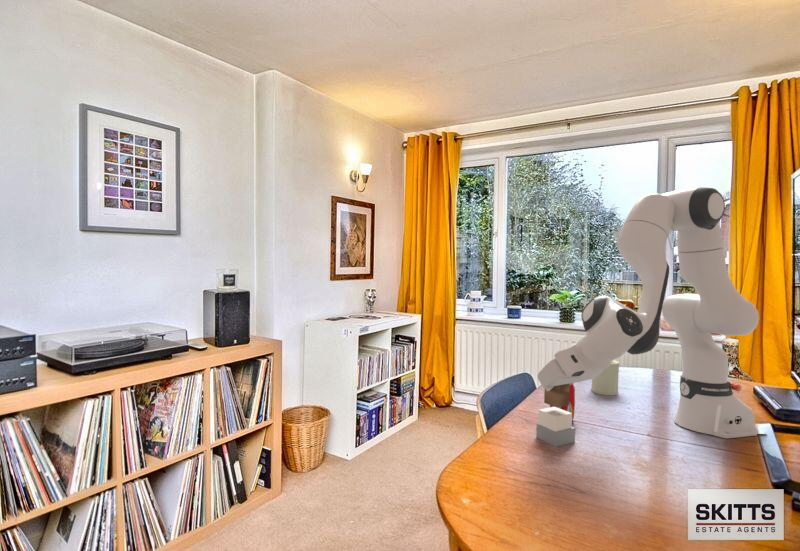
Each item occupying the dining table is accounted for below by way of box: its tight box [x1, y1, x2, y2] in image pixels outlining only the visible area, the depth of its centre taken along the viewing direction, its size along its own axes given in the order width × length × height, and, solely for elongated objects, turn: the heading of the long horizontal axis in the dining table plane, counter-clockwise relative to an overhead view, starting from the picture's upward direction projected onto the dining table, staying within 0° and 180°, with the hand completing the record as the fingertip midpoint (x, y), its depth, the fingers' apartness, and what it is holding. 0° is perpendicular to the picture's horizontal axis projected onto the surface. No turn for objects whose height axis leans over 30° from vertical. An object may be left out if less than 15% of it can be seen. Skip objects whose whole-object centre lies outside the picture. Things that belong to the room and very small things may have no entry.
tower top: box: [538, 406, 573, 432], centre depth 120 cm, size 6×6×4 cm
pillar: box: [543, 383, 570, 408], centre depth 119 cm, size 4×4×8 cm
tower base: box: [535, 422, 576, 448], centre depth 120 cm, size 7×7×4 cm
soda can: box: [549, 383, 576, 421], centre depth 135 cm, size 7×7×12 cm
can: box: [590, 359, 620, 396], centre depth 164 cm, size 9×9×12 cm
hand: (555, 387), depth 120 cm, fingers closed on pillar, 4 cm apart
